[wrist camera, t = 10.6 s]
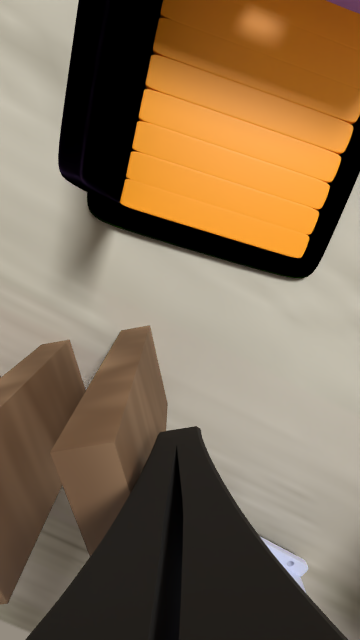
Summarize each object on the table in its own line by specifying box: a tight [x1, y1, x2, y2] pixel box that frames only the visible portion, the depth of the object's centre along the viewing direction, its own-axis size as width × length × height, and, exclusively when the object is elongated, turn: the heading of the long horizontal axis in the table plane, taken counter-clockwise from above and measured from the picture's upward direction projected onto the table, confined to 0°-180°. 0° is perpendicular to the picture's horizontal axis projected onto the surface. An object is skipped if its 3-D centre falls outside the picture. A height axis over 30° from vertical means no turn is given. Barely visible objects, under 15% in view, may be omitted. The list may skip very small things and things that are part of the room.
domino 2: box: [50, 326, 167, 557], centre depth 12 cm, size 2×5×9 cm, turn 10°
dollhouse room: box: [58, 0, 360, 278], centre depth 10 cm, size 12×12×7 cm
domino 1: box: [0, 340, 86, 604], centre depth 12 cm, size 2×5×9 cm, turn 11°
